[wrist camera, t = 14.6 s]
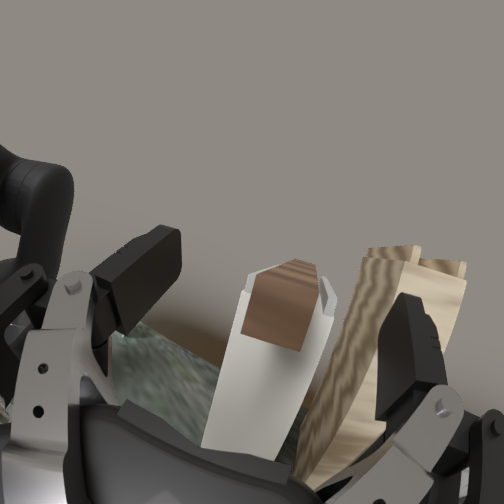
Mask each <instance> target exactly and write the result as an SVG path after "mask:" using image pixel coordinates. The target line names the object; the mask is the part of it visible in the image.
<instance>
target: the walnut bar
mask: <svg viewBox="0 0 504 504" xmlns="http://www.w3.org/2000/svg"><path fill="white" fill-rule="evenodd" d="M319 293H320V291H319V285H318V279H317V273H316V267H315V264H312V263H308V262H304V261H301V260H297V259H294V260H292V261H289V262H287V263H284V264H281V265H279V266H276V267H274V268H271V269H268V270H266V271H263V272H261V273H258V274H256V277H255V281H254V285H253V289H252V292H251V296H250V300H249V303H248V307H247V311H246V314H245V318H244V322H243V325H242V329H241V332H240V334H243V335H246V336H249V337H252V338H255V339H258V340H261V341H265V342H268V343H271V344H274V345H278V346H281V347H284V348H288V349H291V350H295V351H298V352H300V351H301V348H302V345H303V342H304V340H305V337H306V334H307V331H308V328H309V325H310V322H311V318H312V315H313V312H314V309H315V306H316V303H317V299H318V296H319Z"/></svg>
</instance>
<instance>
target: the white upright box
mask: <svg viewBox="0 0 504 504" xmlns="http://www.w3.org/2000/svg"><path fill="white" fill-rule="evenodd" d="M279 265H280V264H278V265H275V266H272V267H269V268H266V269H263V270H261V271H257V272H254V273H251V274H249V275H248V279H247V283H246V286H245V290H243V291H242V292H241V296H240V300H239V304H238V307H237V312H236V315H235V319H234V323H233V326H232V330H231V334H230V338H229V342H228V345H227V349H226V353H225V356H224V361H223V364H222V368H221V372H220V375H219V379H218V383H217V387H216V390H215V394H214V398H213V402H212V405H211V409H210V413H209V417H208V421H207V424H206V428H205V432H204V436H203V439H202V443H201V448H206V449H213V450H220V451H228V452H236V453H247V454H251V455H254V456H257V457H261V458H264V459H268V460H272V461H274V460H275V458H276V456H277V454H278V453H279V451H280V449H281V447H282V445H283V443H284V441H285V439H286V437H287V435H288V432H289V430H290V428H291V426H292V424H293V422H294V420H295V418H296V415H297V413H298V411H299V409H300V406H301V404H302V402H303V400H304V397H305V394H306V393H307V390H308V388H309V385H310V383H311V380H312V378H313V375H314V373H315V370H316V368H317V365H318V363H319V360H320V357H321V354H322V352H323V349H324V347H325V344H326V341H327V338H328V335H329V333H330V330H331V327H332V323H333V321H334V315H333V313H334V310H335V307H336V304H337V300H338V299H337V297H336V295H335V293H334V291H333V290H332V288H331V285H330V284H329V282H328V280H327V278H326V277H323V276H321V279H320V282H319V291H320V293H319V296H318V299H317V303H316V306H315V309H314V312H313V315H312V318H311V322H310V325H309V328H308V331H307V334H306V337H305V340H304V342H303V345H302V348H301V351H300V352H298V351H295V350H291V349H288V348H284V347H281V346H278V345H274V344H271V343H268V342H265V341H261V340H258V339H255V338H252V337H249V336H246V335H243V334H240V332H241V329H242V325H243V322H244V318H245V314H246V311H247V307H248V303H249V300H250V296H251V292H252V289H253V285H254V281H255V277H256V274H258V273H261V272H263V271H266V270H268V269H271V268H274V267H276V266H279Z"/></svg>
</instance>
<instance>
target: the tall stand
mask: <svg viewBox="0 0 504 504" xmlns="http://www.w3.org/2000/svg"><path fill="white" fill-rule="evenodd" d="M421 249H422V248H421V247H419V246H416V245H405V246H393V247H380V248H379V247H378V248H368V252H367V255H366V257H363V259H362V262H361V266H360V270H359V273H358V277H357V280H356V284H355V287H354V290H353V294H352V297H351V300H350V303H349V306H348V310H347V313H346V316H345V319H344V322H343V324H342V327H341V331H340V333H339V336H338V339H337V341H336V344H335V347H334V350H333V352H332V355H331V358H330V360H329V363H328V365H327V368H326V370H325V373H324V375H323V378H322V380H321V382H320V385H319V387H318V389H317V392H316V394H315V396H314V399H313V401H312V403H311V405H310V408H309V410H308V412H307V414H306V416H305V418H304V420H303V422H302V424H301V426H300V432H299V439H298V446H297V453H296V459H295V465H294V471H293V476H295V477H297V478H298V479H300V480H301V481H303V482H304V483H305V484H307V485H308V486H309V487H310V488H311V489H312V490H314V489H316V488H317V487H318V486H320V485H321V484H322V483H324V482H325V481H327V480H328V479H329V478H331V477H332V476H334V475H335V474H337V473H338V472H340V471H341V470H342V469H344V468H345V467H346V466H347V465H348V464H349V463H350V462H352V461H353V460H354V459H355V458H356V457H357V456H358V455H359V454H360V453H361V452H362V451H363V450H364V449H366V448H367V447H368V446H369V445H370V444H371V443H372V442H373V441H374V440H375V439H376V437H377V436H378V435H379V434H380V433H381V432H382V431H384V430H385V429H386V422H383V421H376V420H375V409H376V394H377V366H378V334H379V330H380V328H381V325H382V323H383V321H384V320H385V318H386V316H387V314H388V313H389V311H390V309H391V307H392V305H393V303H394V302H395V300H396V298H397V296H398V295H399V293H401V292H404V293H407V294H411V295H414V296H418V297H421V299H422V302H423V306H424V310H425V314H428V315H430V317H431V318H432V320H433V322H434V323H435V325H436V327H437V331H438V335H439V341H440V344H441V351H442V354H443V353H444V351H445V348H446V346H447V343H448V341H449V338H450V335H451V333H452V330H453V327H454V323H455V321H456V318H457V315H458V312H459V308H460V305H461V301H462V298H463V295H464V291H465V287H466V283H467V281H466V280H463V279H464V274H465V270H466V265H467V263H465V262H462V261H453V260H438V259H421V258H420V254H421Z"/></svg>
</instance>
